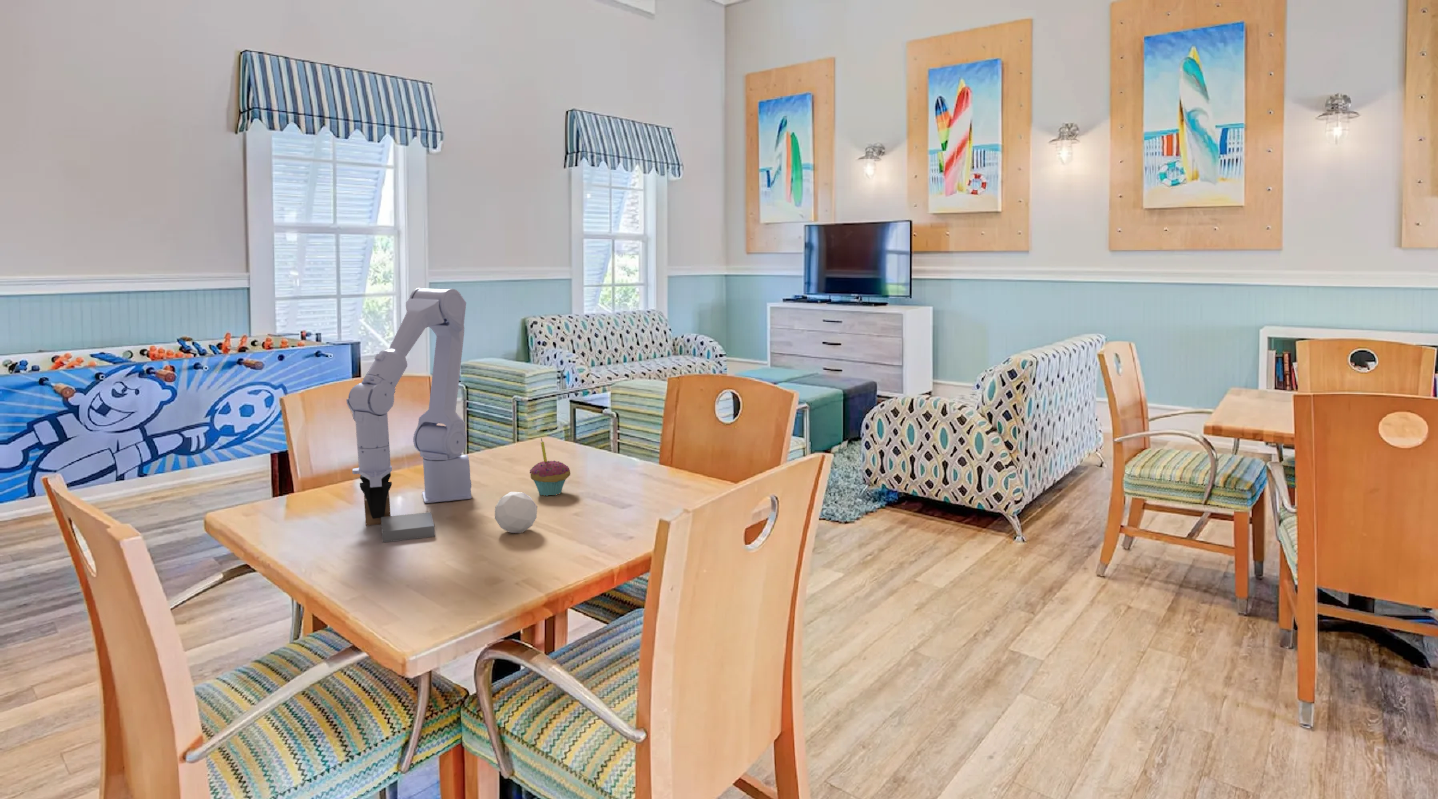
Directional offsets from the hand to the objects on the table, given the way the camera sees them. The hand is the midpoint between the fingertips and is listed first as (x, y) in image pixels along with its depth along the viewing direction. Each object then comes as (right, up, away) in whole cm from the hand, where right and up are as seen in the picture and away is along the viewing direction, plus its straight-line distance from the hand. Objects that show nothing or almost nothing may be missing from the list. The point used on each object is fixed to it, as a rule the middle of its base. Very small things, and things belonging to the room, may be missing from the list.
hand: (377, 513), depth 167 cm
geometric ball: (+28, -3, -5) cm, 29 cm away
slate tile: (+8, -3, -6) cm, 10 cm away
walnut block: (0, -1, 0) cm, 1 cm away
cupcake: (+30, +2, +20) cm, 36 cm away
